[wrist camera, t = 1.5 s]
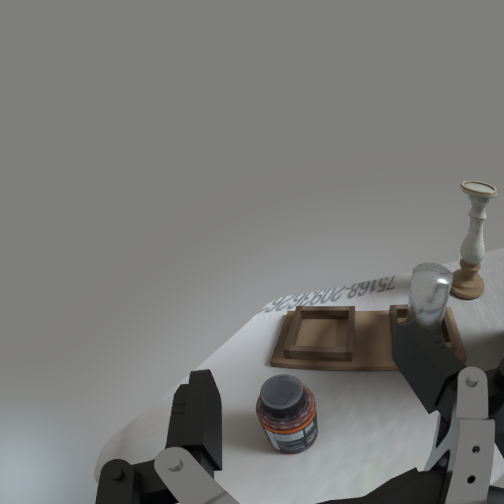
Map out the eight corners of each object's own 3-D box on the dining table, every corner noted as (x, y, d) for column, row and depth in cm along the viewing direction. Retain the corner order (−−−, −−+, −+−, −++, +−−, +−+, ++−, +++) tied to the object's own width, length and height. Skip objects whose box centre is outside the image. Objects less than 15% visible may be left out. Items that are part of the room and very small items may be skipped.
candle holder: (440, 289, 42) (451, 186, 34) (455, 269, 46) (464, 176, 37) (476, 305, 35) (497, 197, 26) (487, 283, 38) (503, 186, 30)
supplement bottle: (275, 413, 31) (259, 362, 26) (321, 417, 28) (318, 365, 24) (263, 452, 26) (241, 412, 21) (313, 457, 24) (309, 419, 19)
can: (434, 320, 35) (446, 262, 31) (440, 346, 31) (458, 286, 26) (401, 322, 38) (408, 263, 33) (404, 349, 33) (416, 289, 28)
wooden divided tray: (449, 311, 37) (452, 297, 36) (464, 363, 27) (470, 350, 26) (288, 315, 48) (286, 302, 47) (271, 366, 38) (267, 353, 37)
